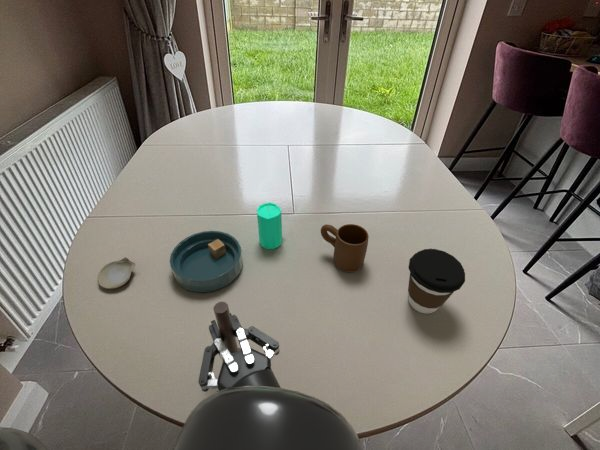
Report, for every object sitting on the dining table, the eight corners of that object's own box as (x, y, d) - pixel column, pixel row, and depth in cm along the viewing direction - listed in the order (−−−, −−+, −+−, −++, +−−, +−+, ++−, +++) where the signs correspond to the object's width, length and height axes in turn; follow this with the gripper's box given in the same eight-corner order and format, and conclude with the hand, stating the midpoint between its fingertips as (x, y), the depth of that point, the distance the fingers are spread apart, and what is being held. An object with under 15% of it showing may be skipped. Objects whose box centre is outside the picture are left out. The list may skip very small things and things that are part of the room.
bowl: (193, 306, 72) (189, 293, 69) (163, 262, 82) (158, 249, 79) (255, 270, 80) (254, 257, 77) (221, 235, 89) (219, 222, 87)
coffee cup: (452, 327, 69) (473, 291, 61) (399, 319, 71) (412, 283, 63) (444, 286, 78) (461, 250, 70) (396, 279, 79) (408, 243, 71)
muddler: (230, 375, 59) (214, 321, 49) (221, 359, 61) (204, 305, 51) (248, 363, 61) (236, 309, 51) (238, 349, 63) (226, 294, 53)
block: (216, 259, 82) (214, 250, 80) (209, 252, 84) (207, 244, 82) (226, 253, 84) (224, 244, 82) (219, 247, 85) (218, 238, 83)
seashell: (99, 284, 78) (111, 297, 73) (91, 275, 77) (103, 289, 72) (129, 260, 82) (143, 272, 77) (122, 252, 80) (136, 263, 75)
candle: (260, 233, 90) (257, 197, 82) (282, 233, 90) (282, 198, 82) (258, 248, 86) (254, 212, 78) (281, 249, 86) (280, 213, 78)
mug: (312, 258, 84) (313, 230, 77) (326, 240, 88) (328, 213, 82) (355, 278, 79) (361, 250, 73) (368, 258, 84) (374, 230, 78)
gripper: (307, 378, 46) (256, 290, 58) (209, 433, 41) (175, 324, 52) (305, 400, 51) (259, 315, 62) (219, 451, 46) (185, 349, 57)
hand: (221, 320), depth 57 cm, fingers closed on muddler, 2 cm apart
